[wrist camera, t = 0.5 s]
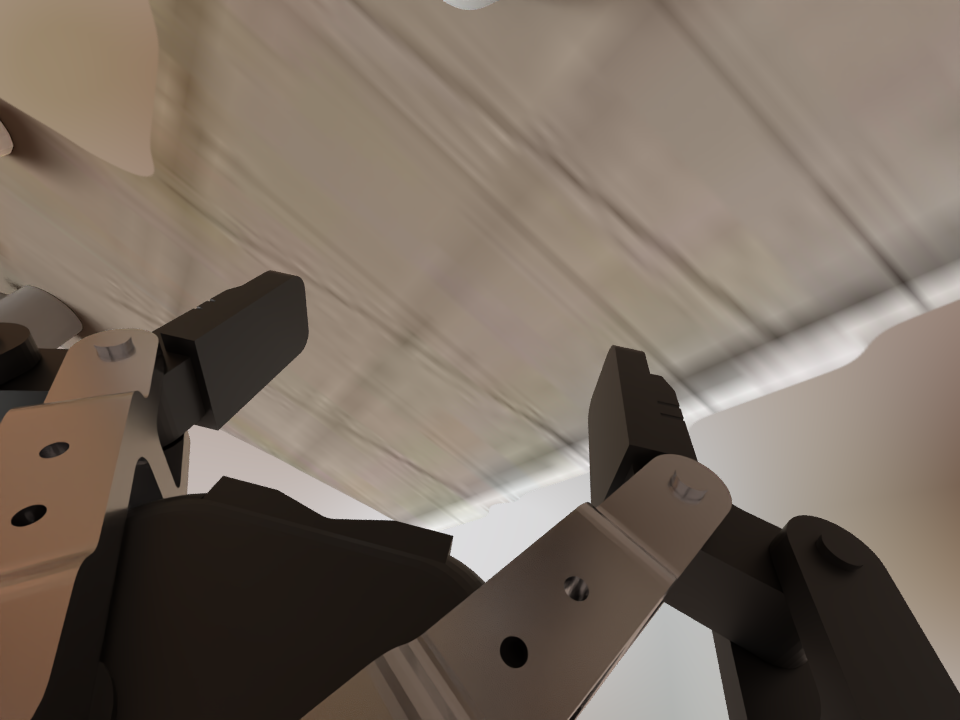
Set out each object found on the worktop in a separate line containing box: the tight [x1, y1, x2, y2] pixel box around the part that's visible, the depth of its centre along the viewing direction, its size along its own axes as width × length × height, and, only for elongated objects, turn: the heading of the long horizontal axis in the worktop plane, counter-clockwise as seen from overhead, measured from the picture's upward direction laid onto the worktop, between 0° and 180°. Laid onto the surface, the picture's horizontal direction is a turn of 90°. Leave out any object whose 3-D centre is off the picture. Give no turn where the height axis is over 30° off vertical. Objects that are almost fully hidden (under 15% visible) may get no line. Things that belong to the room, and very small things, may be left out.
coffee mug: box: [0, 286, 82, 349], centre depth 70 cm, size 13×10×10 cm
